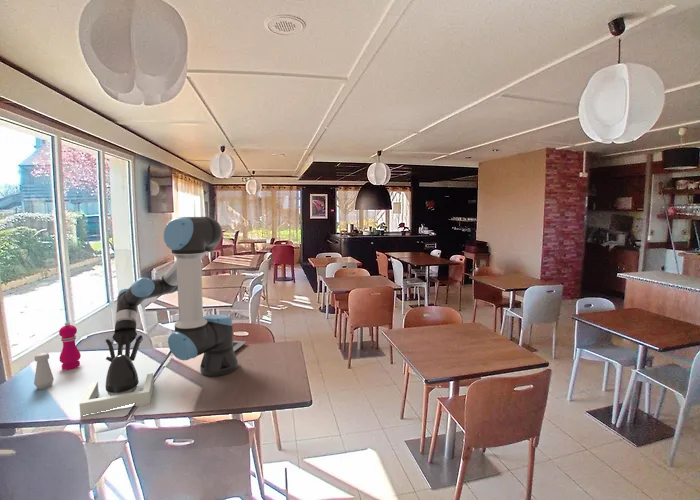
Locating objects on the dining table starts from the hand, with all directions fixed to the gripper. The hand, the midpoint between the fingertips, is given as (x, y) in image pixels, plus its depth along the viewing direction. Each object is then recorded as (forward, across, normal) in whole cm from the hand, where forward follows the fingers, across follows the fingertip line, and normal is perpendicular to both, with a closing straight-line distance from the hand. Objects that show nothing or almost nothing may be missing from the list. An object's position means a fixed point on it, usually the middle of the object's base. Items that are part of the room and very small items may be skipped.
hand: (121, 378), depth 138 cm
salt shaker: (-7, +28, -13) cm, 31 cm away
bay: (+8, 0, +2) cm, 8 cm away
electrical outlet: (-15, -42, -22) cm, 49 cm away
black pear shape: (+7, -1, +1) cm, 7 cm away
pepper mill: (-19, +24, -25) cm, 39 cm away
